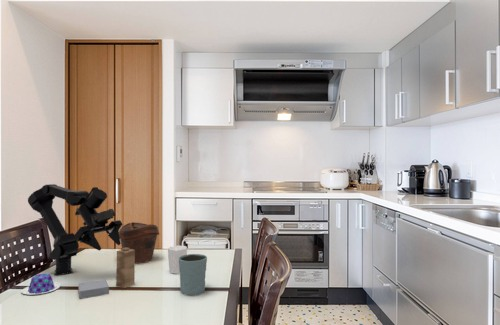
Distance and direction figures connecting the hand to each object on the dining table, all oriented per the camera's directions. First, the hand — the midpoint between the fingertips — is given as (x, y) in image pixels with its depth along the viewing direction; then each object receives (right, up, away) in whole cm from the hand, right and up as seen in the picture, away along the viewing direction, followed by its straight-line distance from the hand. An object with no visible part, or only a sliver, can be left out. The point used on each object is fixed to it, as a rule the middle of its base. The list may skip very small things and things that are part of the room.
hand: (110, 247), depth 126 cm
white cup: (+23, -14, +13) cm, 30 cm away
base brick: (-2, -13, -10) cm, 17 cm away
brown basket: (0, -14, +30) cm, 33 cm away
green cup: (+33, -14, -9) cm, 37 cm away
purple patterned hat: (-21, -14, -8) cm, 27 cm away
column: (+7, -13, -4) cm, 16 cm away
